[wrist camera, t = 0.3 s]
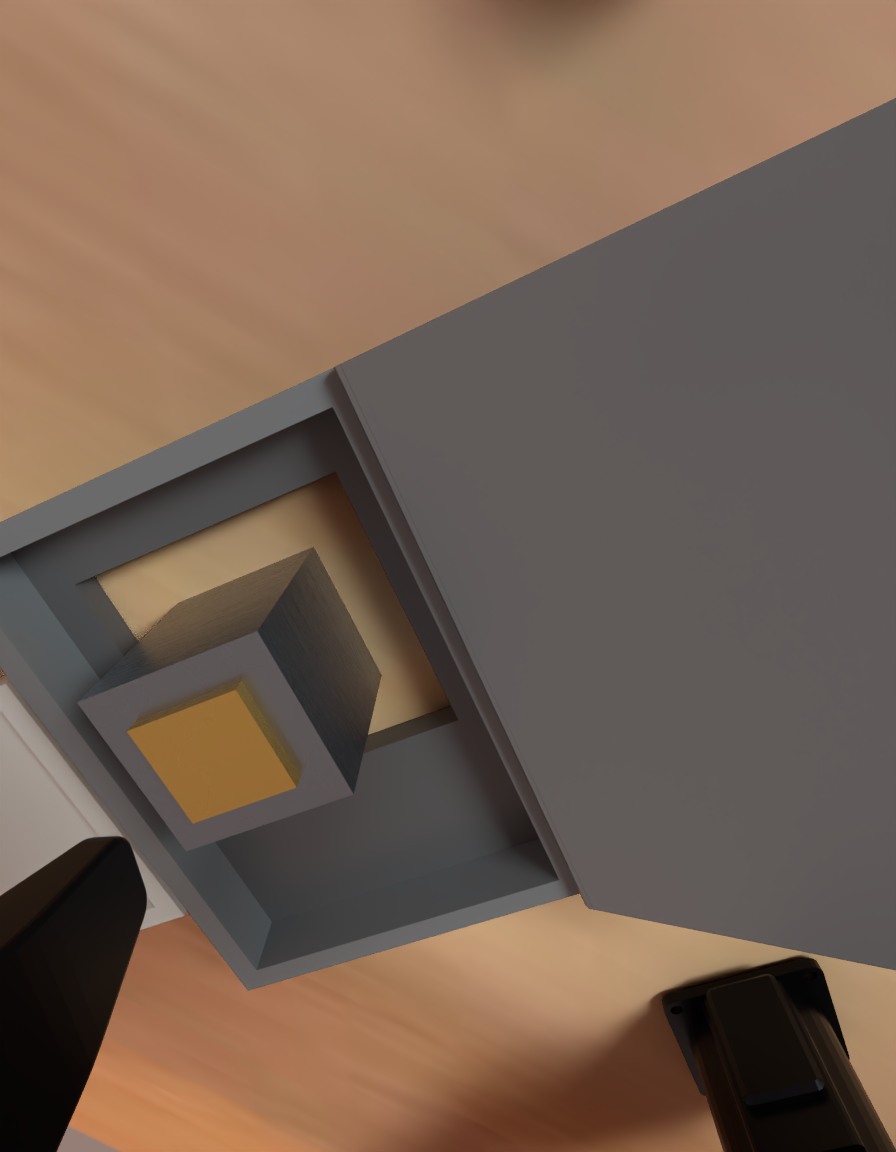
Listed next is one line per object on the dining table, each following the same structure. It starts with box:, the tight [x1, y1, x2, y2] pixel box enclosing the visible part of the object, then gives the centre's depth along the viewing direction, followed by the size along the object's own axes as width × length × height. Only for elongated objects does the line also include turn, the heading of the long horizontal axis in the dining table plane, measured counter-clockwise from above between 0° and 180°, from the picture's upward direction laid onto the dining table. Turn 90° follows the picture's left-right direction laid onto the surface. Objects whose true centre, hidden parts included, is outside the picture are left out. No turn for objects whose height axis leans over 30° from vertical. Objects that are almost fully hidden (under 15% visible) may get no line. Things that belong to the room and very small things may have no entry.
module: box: [77, 547, 382, 851], centre depth 19 cm, size 5×5×6 cm
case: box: [0, 98, 896, 990], centre depth 16 cm, size 18×24×10 cm
